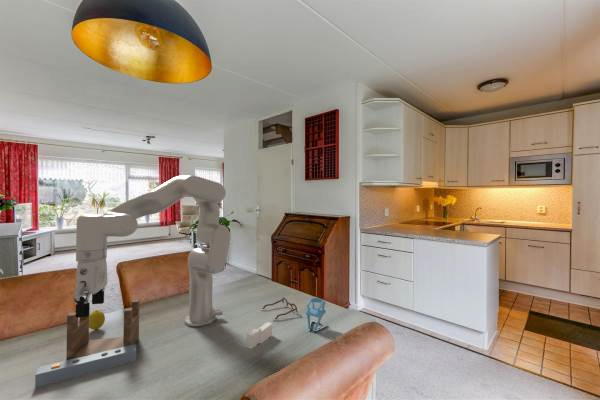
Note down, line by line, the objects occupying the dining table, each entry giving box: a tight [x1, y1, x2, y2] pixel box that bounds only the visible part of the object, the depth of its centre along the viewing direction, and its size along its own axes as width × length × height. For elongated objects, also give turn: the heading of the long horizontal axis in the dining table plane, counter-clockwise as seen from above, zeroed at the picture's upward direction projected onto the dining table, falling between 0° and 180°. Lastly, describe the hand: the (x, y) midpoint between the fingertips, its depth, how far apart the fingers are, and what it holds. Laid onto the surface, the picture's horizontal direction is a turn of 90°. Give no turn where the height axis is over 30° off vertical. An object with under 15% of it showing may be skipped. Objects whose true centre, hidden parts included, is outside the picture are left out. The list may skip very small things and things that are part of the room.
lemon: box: [89, 309, 106, 331], centre depth 106 cm, size 6×6×8 cm
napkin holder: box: [246, 321, 273, 350], centre depth 101 cm, size 15×11×6 cm
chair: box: [305, 297, 327, 332], centre depth 113 cm, size 8×8×12 cm
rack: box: [65, 299, 140, 361], centre depth 93 cm, size 18×10×15 cm, turn 106°
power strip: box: [34, 343, 137, 389], centre depth 83 cm, size 24×4×4 cm, turn 123°
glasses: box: [261, 297, 299, 320], centre depth 127 cm, size 13×13×5 cm
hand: (90, 309), depth 83 cm, fingers open, 9 cm apart
